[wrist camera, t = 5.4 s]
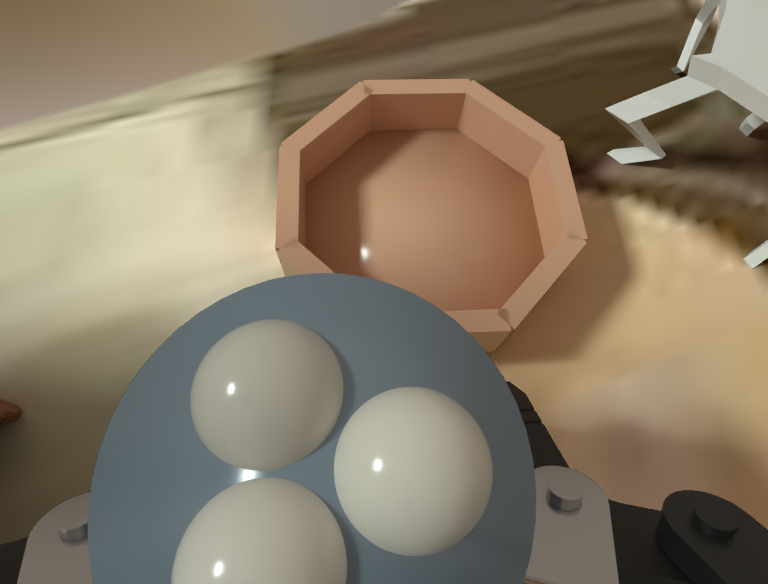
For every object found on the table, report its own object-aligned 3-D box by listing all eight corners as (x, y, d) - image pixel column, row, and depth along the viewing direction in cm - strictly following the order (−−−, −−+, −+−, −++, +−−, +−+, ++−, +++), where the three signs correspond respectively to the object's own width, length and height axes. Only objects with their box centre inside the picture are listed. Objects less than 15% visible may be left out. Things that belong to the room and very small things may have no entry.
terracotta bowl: (284, 362, 16) (271, 340, 14) (291, 128, 20) (282, 81, 18) (576, 350, 17) (610, 326, 14) (527, 125, 21) (547, 78, 18)
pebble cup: (260, 588, 14) (-9, 821, 4) (268, 409, 15) (102, 258, 6) (436, 577, 14) (608, 765, 4) (422, 401, 16) (513, 245, 6)
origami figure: (540, 103, 21) (587, -3, 17) (685, 49, 23) (764, -62, 18) (724, 337, 17) (853, 279, 13) (884, 249, 19) (1048, 171, 14)
